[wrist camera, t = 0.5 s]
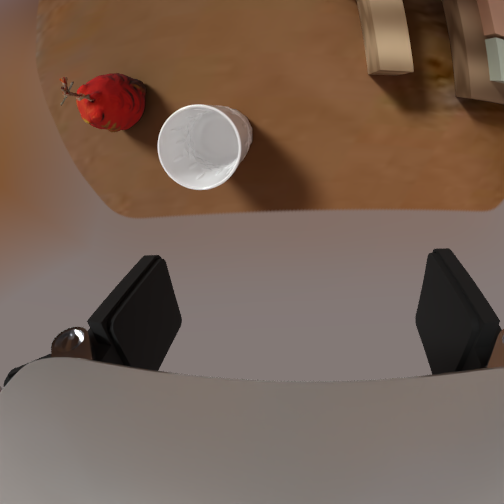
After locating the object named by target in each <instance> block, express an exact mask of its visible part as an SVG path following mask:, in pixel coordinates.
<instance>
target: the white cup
mask: <svg viewBox="0 0 504 504" xmlns="http://www.w3.org/2000/svg"><path fill="white" fill-rule="evenodd" d="M251 143H252V127H251V125H250V123H249V121H248V119H247V117H246V116H244V115H243V114H242V113H240V112H239V111H238V110H236V109H232V108H228V107H225V106H218V105H190V106H186V107H183V108H181V109H179V110H177V111H176V112H174V113H173V114H172V115H171V116H170V117H169V118H168V119H167V120H166V122H165V123H164V125H163V126H162V128H161V131H160V134H159V137H158V155H159V159H160V162H161V164H162V166H163V168H164V170H165V171H166V173H167V174H168V175H169V176H170V177H171V178H172V179H173V180H174V181H175V182H177V183H178V184H180V185H182V186H184V187H187V188H190V189H195V190H206V189H211V188H214V187H217V186H219V185H221V184H223V183H224V182H225V181H227V180H228V179H229V178H230V177H231V176H232V174H233V173H234V172H235V170H236V169H237V167H238V166H239V165H240V163H241V162H242V160H243V159H244V157H245V156H246V154H247V152H248V150H249V147H250V145H251Z"/></svg>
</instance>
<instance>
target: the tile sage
mask: <svg viewBox="0 0 504 504" xmlns="http://www.w3.org/2000/svg"><path fill="white" fill-rule="evenodd" d="M485 44H486V51H487V58H488V66H489V75H490V81H495V82H499V83H504V40H503V39H500V38H496V37H495V38H490V39H485Z"/></svg>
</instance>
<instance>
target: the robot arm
mask: <svg viewBox="0 0 504 504" xmlns="http://www.w3.org/2000/svg"><path fill="white" fill-rule="evenodd" d="M87 322H88V324H89V326H90V329H89V330H88V331H87V330H86V329H85V328H83V327H71V328H68V329H66V330H64V331H62V332H61V333H59V334H58V335H57V336H56V337H55V338H54V340H53V342H52V345H51V354H49V355H47V356H44V357H41V358H39V359H37V360H34V361H32V362H30V363H27V364H25V365H22V366H20V367H18V368H14V369H13V370H11V371H10V372H9V374H8V376H7V378H6V380H5V382H4V388H3V389H2V387H1V386H0V504H504V329H503V330H501V328H500V326H499V322H500V320H499V319H498V317H497V316H496V314H495V312H494V311H493V309H492V308H491V306H490V305H489V303H488V301H487V300H486V298H485V297H484V296H483V294H482V292H481V291H480V289H479V288H478V287H477V285H476V284H475V282H474V281H473V279H472V278H471V277H470V275H469V274H468V272H467V271H466V270H465V268H464V267H463V266H462V264H461V263H460V262H459V260H458V259H457V258H456V256H455V255H454V254H453V252H452V251H451V250H450V249H434V250H433V252H432V253H429V255H428V258H427V264H426V270H425V275H424V280H423V285H422V290H421V295H420V300H419V304H418V309H417V313H416V326H417V329H418V332H419V335H420V337H421V340H422V343H423V346H424V349H425V352H426V355H427V358H428V362H429V365H430V368H431V371H432V375H425V376H415V377H404V378H392V379H379V380H360V381H325V382H324V381H320V382H319V381H318V382H301V381H297V382H296V381H264V380H245V379H230V378H218V377H206V376H196V375H187V374H178V373H170V372H162V371H158V370H159V367H160V366H161V364H162V362H163V360H164V358H165V356H166V354H167V352H168V350H169V348H170V346H171V344H172V342H173V340H174V338H175V336H176V334H177V332H178V330H179V328H180V326H181V322H182V319H181V314H180V311H179V307H178V304H177V301H176V297H175V294H174V290H173V287H172V283H171V279H170V276H169V272H168V268H167V265H166V262H165V260H164V259H162V258H161V257H160V256H159V255H149V256H143V258H141V259H140V261H139V262H138V263H137V264H136V265H135V266H134V267H133V268H132V269H131V271H130V272H129V273H128V274H127V275H126V276H125V277H124V278H123V280H122V281H121V282H120V283H119V284H118V285H117V286H116V287H115V289H114V290H113V291H112V292H111V293H110V294H109V296H108V297H107V298H106V299H105V300H104V301H103V303H102V304H101V305H100V306H99V307H98V309H97V310H96V311H95V312H94V313H93V315H92V316H91V317H90V318H89V319H88V321H87Z"/></svg>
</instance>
